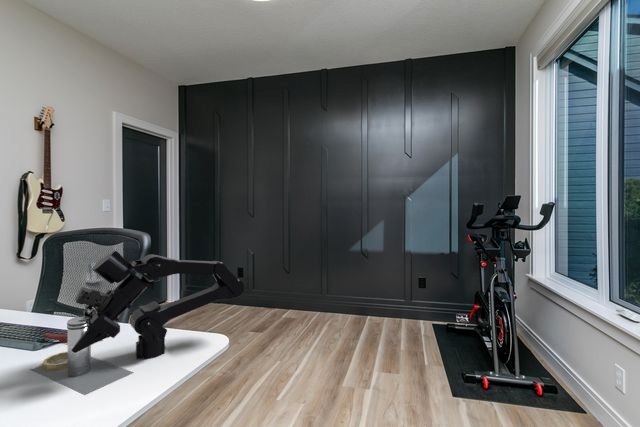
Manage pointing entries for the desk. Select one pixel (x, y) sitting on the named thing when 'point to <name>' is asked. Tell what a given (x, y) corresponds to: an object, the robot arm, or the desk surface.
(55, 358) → the socket collar
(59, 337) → the pliers
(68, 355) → the piston
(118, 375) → the mat
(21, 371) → the desk surface
